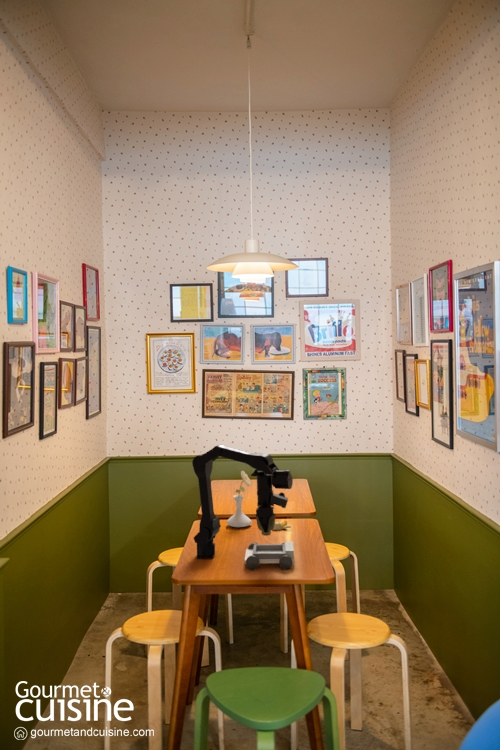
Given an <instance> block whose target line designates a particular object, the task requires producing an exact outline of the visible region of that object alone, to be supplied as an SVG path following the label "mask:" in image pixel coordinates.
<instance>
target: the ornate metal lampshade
mask: <svg viewBox="0 0 500 750" xmlns="http://www.w3.org/2000/svg"><path fill="white" fill-rule="evenodd" d="M276 515H277V514H276V513H275V512H274V511H273V516H272V517H271V518H270V519H269V525H268V531H267V532H264V530H263V528H262V525H261V523H260V521H259V519H258V517H257V516H256V515H255V521H256V525H257V528H258V530H259V531H260V533H261V535H262V536H266V537H267V536H270V535H271V534H272V531H274V530H273V528H274V525H275V522H276Z"/></svg>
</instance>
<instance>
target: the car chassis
mask: <svg viewBox="0 0 500 750" xmlns="http://www.w3.org/2000/svg"><path fill="white" fill-rule="evenodd" d="M294 548H295V547H294V541H285V542H282V543H279V544H271V543H270V544H268V543H265V544H261V543H260V544H259V543H257V542H252V543H250V544H249V545H248V548H246V549H245V556H244V564H245V565H246V567H247V569H248V570H250V571H256V570H257V569H258V568H259V566H260V564H278V565H279V567H280V568H281V569H282V570H285V571H287V570H289V569H291V568H292V566H293V564H295V551H294Z"/></svg>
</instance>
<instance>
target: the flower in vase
mask: <svg viewBox="0 0 500 750" xmlns="http://www.w3.org/2000/svg"><path fill="white" fill-rule="evenodd" d="M240 476H241V479H242V481H241V482H240V486H239V489H237V488H236V490H235V493H237V494H234V495H233V496H232V497H233V499H234V501H235V507H236V509H235V510H236V511H235V513H234V514H233V515H231V516H230V517H229V518H228V519H227V520H226V524H227V526H229V527H233V528H245V527H247V526H250V525H251V524H252V520H251V519H250V517H248V516H247V515H246V514H245V513H244V512H243V510H242V503H243V499H244V497H245V495H243V494H240V493H241V492H242V493H245V491H246V488H245V487H244V486H242V485H243V483H244V484H245V485H246V486H247V487H251V484H252V483H251V479H250V478H249V476H248V473H246V472H245V471H244V470H241V471H240Z"/></svg>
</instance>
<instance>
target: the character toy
mask: <svg viewBox="0 0 500 750" xmlns="http://www.w3.org/2000/svg"><path fill="white" fill-rule="evenodd" d="M282 529H292V525H288V522H287V521H283V522H280V521H275V525H274V528H273V530H272V531H277V530H278V531H280V530H282Z"/></svg>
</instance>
